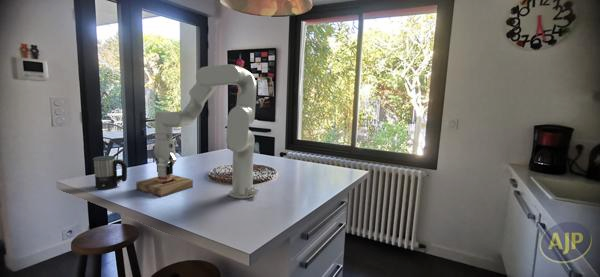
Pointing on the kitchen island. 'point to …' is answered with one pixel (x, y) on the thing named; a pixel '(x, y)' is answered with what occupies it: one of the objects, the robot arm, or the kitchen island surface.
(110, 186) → the milk frother
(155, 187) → the socket block
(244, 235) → the kitchen island surface
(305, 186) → the kitchen island surface
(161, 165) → the pill bottle
